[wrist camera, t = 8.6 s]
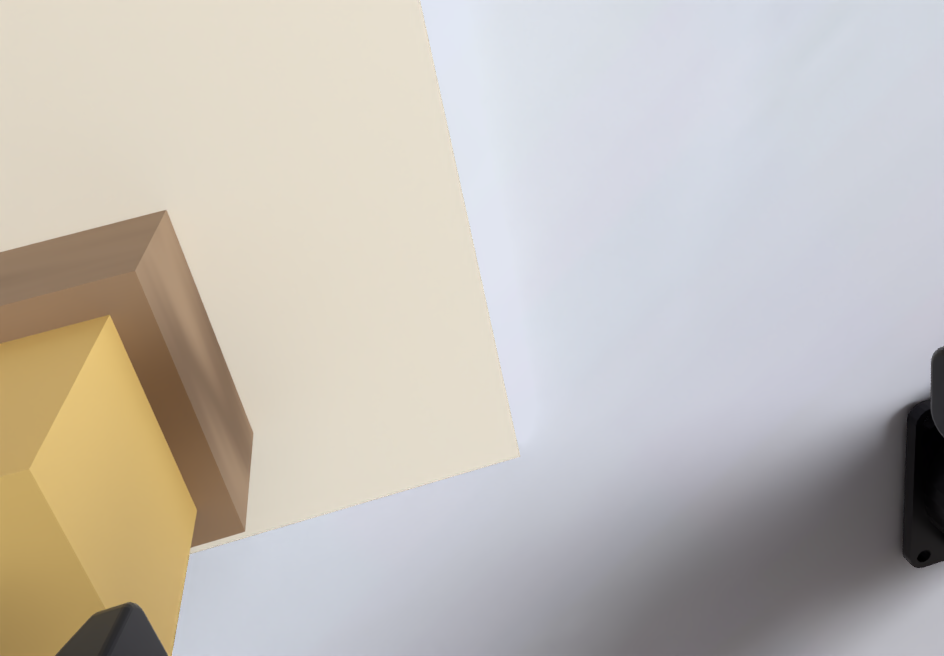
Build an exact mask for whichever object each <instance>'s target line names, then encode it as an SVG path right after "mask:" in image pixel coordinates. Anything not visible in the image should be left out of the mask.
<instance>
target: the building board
mask: <svg viewBox="0 0 944 656" xmlns="http://www.w3.org/2000/svg"><path fill="white" fill-rule="evenodd" d="M163 210H167V212H168V215H169V217H170V220H171V223H172V225H173V228H174V230H175V233H176V235H177V238H178V241H179V243H180V246H181V248H182V251H183V253H184V256H185V259H186V261H187V264H188V266H189V269H190V271H191V274H192V277H193V279H194V282H195V284H196V287H197V289H198V292H199V294H200V297H201V300H202V302H203V305H204V307H205V310H206V312H207V315H208V318H209V320H210V323H211V325H212V328H213V330H214V333H215V336H216V338H217V341H218V343H219V346H220V348H221V351H222V354H223V356H224V359H225V361H226V364H227V366H228V369H229V371H230V374H231V377H232V379H233V382H234V384H235V387H236V389H237V392H238V395H239V397H240V400H241V402H242V405H243V407H244V410H245V413H246V415H247V418H248V420H249V423H250V425H251V428H252V431H253V445H252V457H251V469H250V481H249V493H248V504H247V516H246V528H245V532H243V533H239V534H236V535H232V536H229V537H226V538H222V539H219V540H215V541H212V542H209V543H205V544H202V545H198V546H195V547H192V548H190V554H192V553H196V552H199V551H202V550H206V549H209V548H213V547H216V546H219V545H223V544H226V543H229V542H233V541H236V540H240V539H243V538H246V537H250V536H253V535H257V534H260V533H263V532H267V531H270V530H273V529H277V528H280V527H284V526H287V525H290V524H294V523H297V522H301V521H304V520H307V519H311V518H314V517H317V516H321V515H324V514H328V513H331V512H334V511H338V510H341V509H345V508H348V507H351V506H355V505H358V504H361V503H365V502H368V501H372V500H375V499H378V498H382V497H385V496H389V495H392V494H395V493H399V492H402V491H405V490H409V489H412V488H416V487H419V486H422V485H426V484H429V483H433V482H436V481H439V480H443V479H446V478H449V477H453V476H456V475H460V474H463V473H466V472H470V471H473V470H477V469H480V468H483V467H487V466H490V465H493V464H497V463H500V462H504V461H507V460H510V459H514V458H517V457H520V453H519V449H518V444H517V439H516V435H515V430H514V426H513V421H512V417H511V412H510V408H509V403H508V399H507V394H506V389H505V385H504V380H503V376H502V371H501V367H500V362H499V358H498V353H497V348H496V344H495V339H494V335H493V330H492V326H491V321H490V317H489V312H488V308H487V303H486V298H485V294H484V289H483V285H482V280H481V276H480V271H479V267H478V262H477V258H476V253H475V248H474V244H473V239H472V235H471V230H470V226H469V221H468V217H467V212H466V208H465V203H464V198H463V194H462V189H461V185H460V180H459V176H458V171H457V167H456V162H455V157H454V153H453V148H452V144H451V139H450V135H449V130H448V126H447V121H446V117H445V112H444V107H443V103H442V98H441V94H440V89H439V85H438V80H437V76H436V71H435V67H434V62H433V57H432V53H431V48H430V44H429V39H428V35H427V30H426V26H425V21H424V16H423V12H422V7H421V3H420V0H0V252H3V251H7V250H11V249H15V248H19V247H23V246H27V245H31V244H34V243H38V242H42V241H46V240H50V239H54V238H58V237H62V236H66V235H70V234H73V233H77V232H81V231H85V230H89V229H93V228H97V227H101V226H105V225H109V224H112V223H116V222H120V221H124V220H128V219H132V218H136V217H140V216H144V215H148V214H151V213H155V212H159V211H163Z"/></svg>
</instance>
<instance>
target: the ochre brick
mask: <svg viewBox="0 0 944 656" xmlns="http://www.w3.org/2000/svg"><path fill="white" fill-rule="evenodd" d="M196 514H197V509H196V507H195V504H194V502H193V500H192V498H191V496H190V493H189V491H188V489H187V487H186V484H185V482H184V480H183V478H182V475H181V473H180V471H179V469H178V466H177V464H176V462H175V460H174V457H173V455H172V453H171V451H170V448H169V446H168V444H167V442H166V440H165V437H164V435H163V433H162V431H161V428H160V426H159V424H158V422H157V419H156V417H155V415H154V413H153V410H152V408H151V406H150V404H149V401H148V399H147V397H146V395H145V393H144V390H143V388H142V386H141V384H140V381H139V379H138V377H137V375H136V372H135V370H134V368H133V366H132V363H131V361H130V359H129V357H128V354H127V352H126V350H125V348H124V345H123V343H122V341H121V339H120V337H119V334H118V332H117V330H116V328H115V325H114V323H113V321H112V319H111V316H110V315H107V316H103V317H99V318H95V319H92V320H88V321H84V322H80V323H76V324H73V325H69V326H65V327H61V328H58V329H54V330H50V331H46V332H42V333H39V334H35V335H31V336H27V337H24V338H20V339H16V340H12V341H8V342H5V343H1V344H0V656H55V655H56V654H57V653H58V652H59V650H60V649H61V648H62V647H63V646H64V645H65V644H66V643H67V642H68V641H69V640H70V639H71V637H72V636H73V635H74V634H75V633H76V632H77V631H78V630H79V629H80V628H81V627H82V626H83V624H84V623H85V622H86V621H87V620H88V619H89V618H90V617H91V616H92V615H93V614H95V613H96V612H99V611H101V610H105V609H108V608H111V607H114V606H117V605H121V604H124V603H127V602H132V603H136V604H138V605H139V606H140V607H141V608H142V610H143V611H144V613H145V614H146V616H147V618H148V620H149V622H150V623H151V625H152V627H153V629H154V631H155V632H156V634H157V636H158V638H159V640H160V641H161V643H162V645H163V647H164V649H165V650H166V652H167V654H168V656H172V651H173V645H174V639H175V634H176V628H177V622H178V617H179V611H180V605H181V600H182V594H183V588H184V582H185V577H186V571H187V565H188V560H189V554H190V548H191V542H192V537H193V531H194V525H195V520H196Z"/></svg>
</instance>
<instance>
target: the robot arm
mask: <svg viewBox="0 0 944 656" xmlns="http://www.w3.org/2000/svg"><path fill="white" fill-rule="evenodd" d="M927 417H928V418H927ZM926 418H927V419H926ZM925 419H926V420H925ZM924 420H925V421H924ZM903 557H904V558H905V559H906V560H907V561H908V562H909V563H910V564H911V565H913V566H914V567H916V568H922V567H926V566H929V565H932V564H935V563H938V562H941V561H944V346H943V347H940V348H938V349H937V350H936V351H935V352H934V354H933V356H932V359H931V400H928V401H924V402H921V403H919V404H917V405H916V406H915V407H914V408H913V409H912V410H911V411H910V413H909V414H908V419H907V440H906V470H905V499H904V528H903ZM55 656H168V654H167V652H166V650H165V649H164V647H163V645H162V643H161V641H160V640H159V638H158V636H157V634H156V632H155V631H154V629H153V627H152V625H151V623H150V622H149V620H148V618H147V616H146V614H145V613H144V611H143V610H142V608H141V607H140V606H139V605H138V604H136V603H132V602H127V603H124V604H121V605H117V606H114V607H111V608H108V609H105V610H101V611H99V612H96V613H95V614H93V615H92V616H91V617H90V618H89V619H88V620H87V621H86V622H85V623H84V624H83V626H82V627H81V628H80V629H79V630H78V631H77V632H76V633H75V634H74V635H73V636H72V637H71V639H70V640H69V641H68V642H67V643H66V644H65V645H64V646H63V647H62V648H61V649H60V650H59V652H58V653H57V654H56V655H55Z"/></svg>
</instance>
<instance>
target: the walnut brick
mask: <svg viewBox="0 0 944 656" xmlns="http://www.w3.org/2000/svg"><path fill="white" fill-rule="evenodd" d="M107 315H110V316H111V319H112V321H113V323H114V325H115V328H116V330H117V332H118V334H119V337H120V339H121V341H122V343H123V345H124V348H125V350H126V352H127V354H128V357H129V359H130V361H131V363H132V366H133V368H134V370H135V372H136V375H137V377H138V379H139V381H140V384H141V386H142V388H143V390H144V393H145V395H146V397H147V399H148V401H149V404H150V406H151V408H152V410H153V413H154V415H155V417H156V419H157V422H158V424H159V426H160V428H161V431H162V433H163V435H164V437H165V440H166V442H167V444H168V446H169V448H170V451H171V453H172V455H173V457H174V460H175V462H176V464H177V466H178V469H179V471H180V473H181V475H182V478H183V480H184V482H185V484H186V487H187V489H188V491H189V493H190V496H191V498H192V500H193V502H194V504H195V507H196V509H197V514H196V520H195V525H194V531H193V537H192V542H191V548H192V547H195V546H198V545H202V544H205V543H209V542H212V541H215V540H219V539H222V538H226V537H229V536H232V535H236V534H239V533H243V532H245V528H246V516H247V504H248V493H249V481H250V469H251V457H252V445H253V431H252V428H251V425H250V423H249V420H248V418H247V415H246V413H245V410H244V407H243V405H242V402H241V400H240V397H239V395H238V392H237V389H236V387H235V384H234V382H233V379H232V377H231V374H230V371H229V369H228V366H227V364H226V361H225V359H224V356H223V354H222V351H221V348H220V346H219V343H218V341H217V338H216V336H215V333H214V330H213V328H212V325H211V323H210V320H209V318H208V315H207V312H206V310H205V307H204V305H203V302H202V300H201V297H200V294H199V292H198V289H197V287H196V284H195V282H194V279H193V277H192V274H191V271H190V269H189V266H188V264H187V261H186V259H185V256H184V253H183V251H182V248H181V246H180V243H179V241H178V238H177V235H176V233H175V230H174V228H173V225H172V223H171V220H170V217H169V215H168V212H167V210H163V211H159V212H155V213H151V214H148V215H144V216H140V217H136V218H132V219H128V220H124V221H120V222H116V223H112V224H109V225H105V226H101V227H97V228H93V229H89V230H85V231H81V232H77V233H73V234H70V235H66V236H62V237H58V238H54V239H50V240H46V241H42V242H38V243H34V244H31V245H27V246H23V247H19V248H15V249H11V250H7V251H3V252H0V344H1V343H5V342H8V341H12V340H16V339H20V338H24V337H27V336H31V335H35V334H39V333H42V332H46V331H50V330H54V329H58V328H61V327H65V326H69V325H73V324H76V323H80V322H84V321H88V320H92V319H95V318H99V317H103V316H107Z"/></svg>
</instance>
